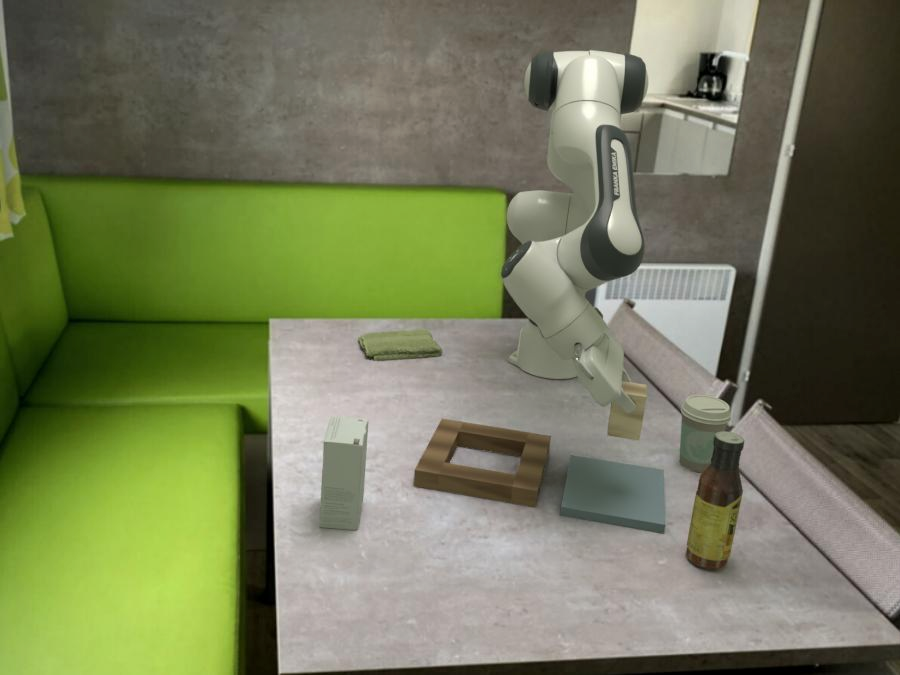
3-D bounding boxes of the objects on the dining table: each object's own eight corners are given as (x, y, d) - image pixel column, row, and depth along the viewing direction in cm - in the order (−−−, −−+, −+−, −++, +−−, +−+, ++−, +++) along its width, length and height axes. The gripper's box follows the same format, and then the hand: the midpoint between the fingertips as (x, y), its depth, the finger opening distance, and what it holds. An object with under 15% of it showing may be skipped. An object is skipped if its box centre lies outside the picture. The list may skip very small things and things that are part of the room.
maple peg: (608, 422, 142) (614, 380, 139) (639, 427, 141) (646, 384, 138) (607, 435, 137) (613, 392, 135) (639, 440, 136) (646, 396, 134)
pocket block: (440, 433, 160) (441, 418, 159) (549, 450, 156) (550, 435, 155) (413, 486, 141) (414, 469, 140) (535, 507, 138) (537, 490, 137)
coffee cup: (668, 469, 153) (680, 407, 149) (674, 449, 161) (685, 389, 156) (718, 480, 151) (731, 418, 146) (722, 459, 158) (734, 399, 154)
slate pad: (569, 462, 153) (570, 454, 152) (662, 477, 150) (663, 469, 150) (560, 514, 136) (561, 506, 136) (663, 533, 134) (665, 524, 133)
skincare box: (326, 499, 136) (329, 413, 130) (365, 502, 136) (369, 416, 131) (318, 529, 128) (320, 439, 123) (359, 532, 128) (363, 442, 123)
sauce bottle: (729, 575, 124) (756, 452, 118) (685, 567, 125) (709, 445, 119) (725, 550, 131) (751, 431, 124) (683, 543, 132) (706, 424, 125)
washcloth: (355, 342, 201) (355, 329, 200) (428, 339, 206) (429, 326, 205) (367, 363, 190) (367, 349, 188) (444, 360, 195) (445, 346, 194)
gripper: (590, 345, 125) (649, 417, 126) (597, 304, 144) (648, 367, 145) (555, 369, 127) (614, 440, 129) (567, 325, 146) (618, 387, 148)
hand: (632, 401), depth 137 cm, fingers closed on maple peg, 5 cm apart
